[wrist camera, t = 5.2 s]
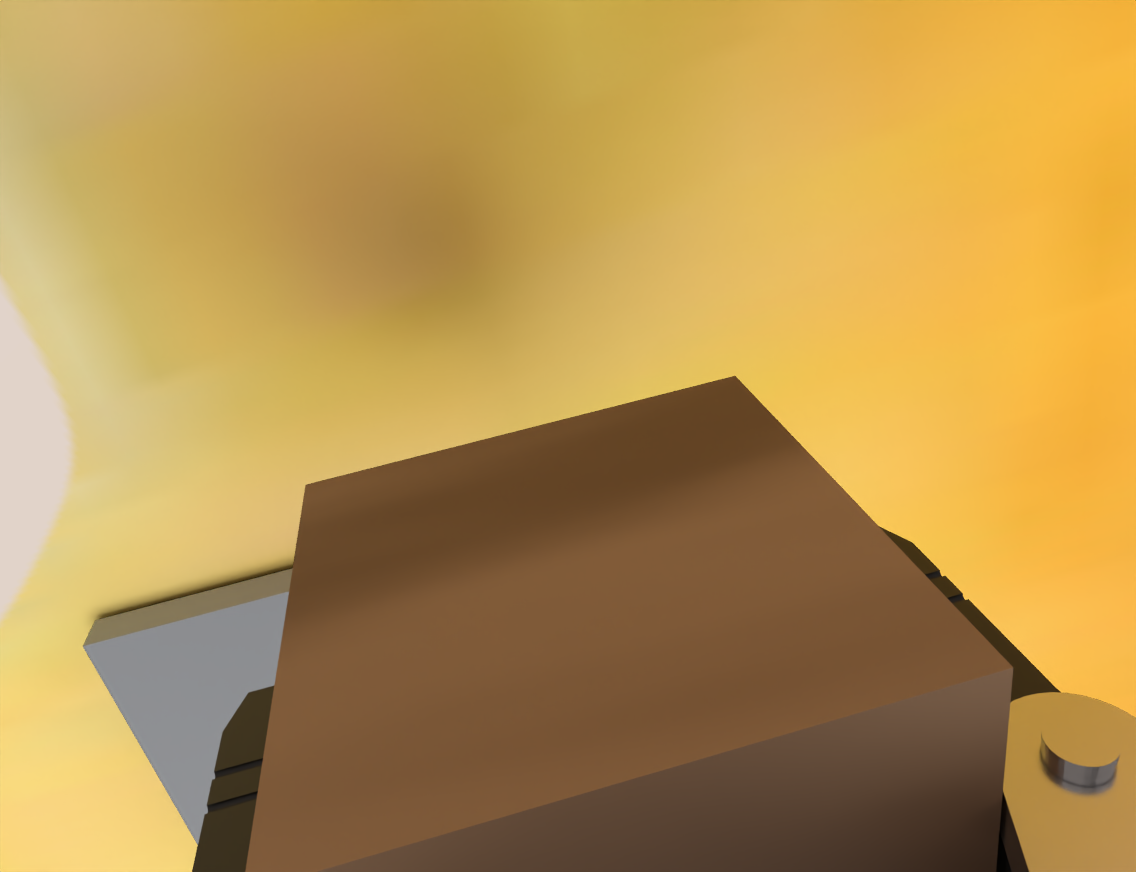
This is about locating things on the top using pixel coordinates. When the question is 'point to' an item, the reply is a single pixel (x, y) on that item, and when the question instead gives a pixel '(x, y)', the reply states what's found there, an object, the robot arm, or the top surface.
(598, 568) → the walnut cube
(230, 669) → the plate
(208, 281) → the top surface
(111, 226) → the top surface
